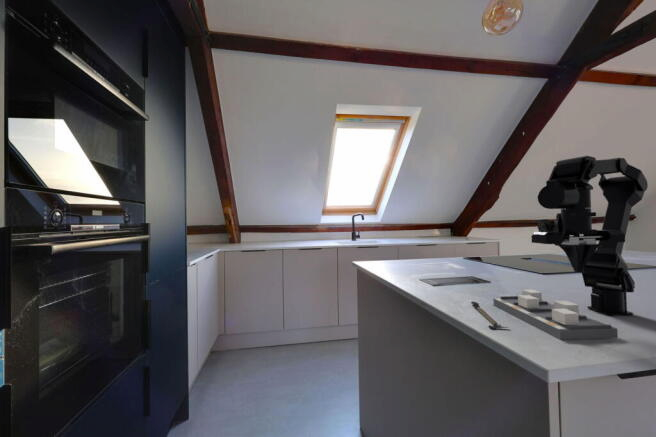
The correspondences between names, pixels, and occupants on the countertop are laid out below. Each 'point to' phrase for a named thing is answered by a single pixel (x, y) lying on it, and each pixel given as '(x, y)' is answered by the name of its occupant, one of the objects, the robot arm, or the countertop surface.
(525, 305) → the tab
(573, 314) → the off-white short block
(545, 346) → the countertop surface
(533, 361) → the countertop surface
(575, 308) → the white rectangular block
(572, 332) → the switch bank
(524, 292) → the white rectangular block
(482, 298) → the countertop surface
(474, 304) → the claw hammer
